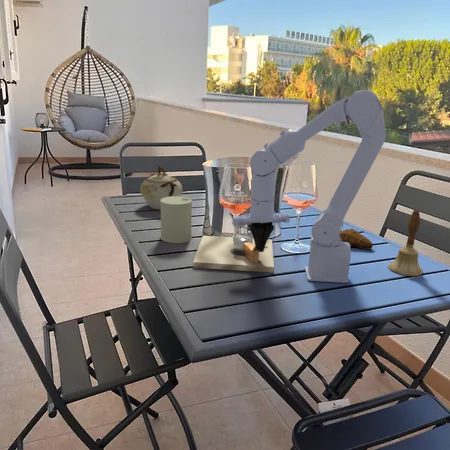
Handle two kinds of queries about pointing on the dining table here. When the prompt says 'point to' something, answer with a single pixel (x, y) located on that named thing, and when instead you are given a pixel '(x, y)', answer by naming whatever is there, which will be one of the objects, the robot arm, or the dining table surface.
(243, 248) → the wooden handled dome
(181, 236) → the can
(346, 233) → the croissant
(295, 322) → the dining table surface
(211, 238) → the base plate
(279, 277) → the dining table surface
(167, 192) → the sugar bowl
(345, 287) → the dining table surface
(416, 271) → the hand bell
